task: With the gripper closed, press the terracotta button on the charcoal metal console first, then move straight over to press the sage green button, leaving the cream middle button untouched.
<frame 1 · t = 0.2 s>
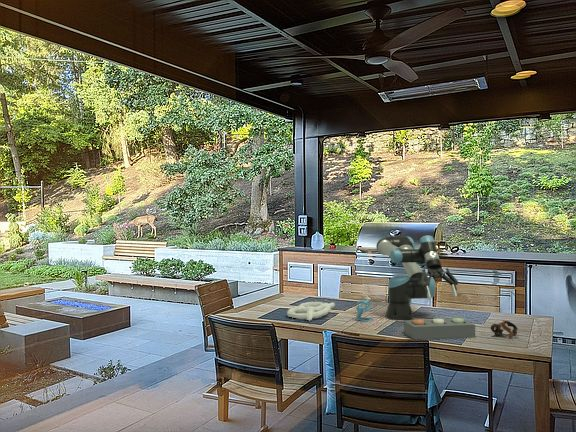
hand: (442, 297, 240), 16 cm above the table, fingers open, 13 cm apart
button console: (438, 334, 227), on the table
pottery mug: (503, 336, 223), on the table
teal overhanging stand: (363, 320, 262), on the table
cream button: (438, 322, 227), point 6 cm above the table, slide at 0.0 cm
pretzel: (310, 316, 275), on the table
sage button: (458, 321, 228), point 6 cm above the table, slide at 0.0 cm
terracotta button: (418, 323, 226), point 6 cm above the table, slide at 0.0 cm
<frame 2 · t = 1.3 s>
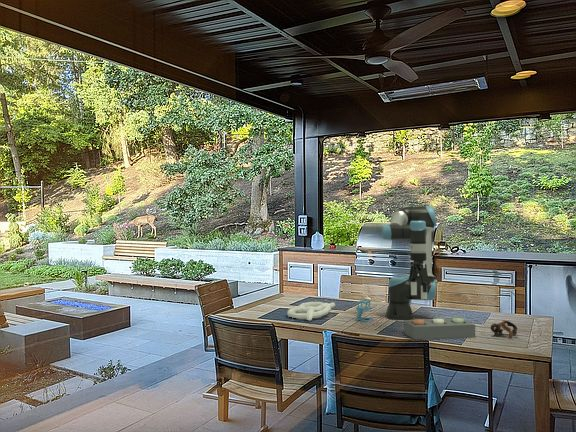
hand: (418, 297, 226), 19 cm above the table, fingers open, 12 cm apart
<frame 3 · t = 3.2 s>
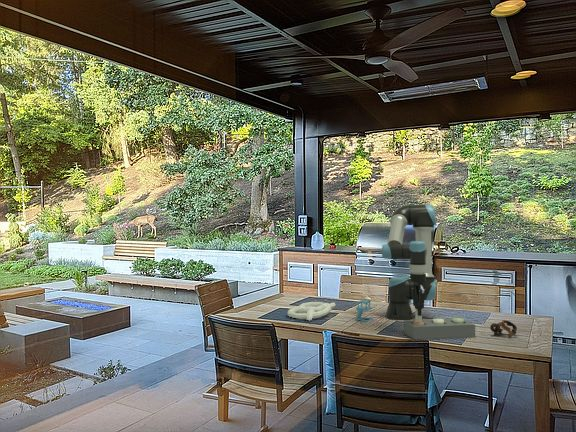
hand: (418, 321, 225), 7 cm above the table, fingers closed
terracotta button: (418, 325, 226), point 5 cm above the table, slide at 1.1 cm
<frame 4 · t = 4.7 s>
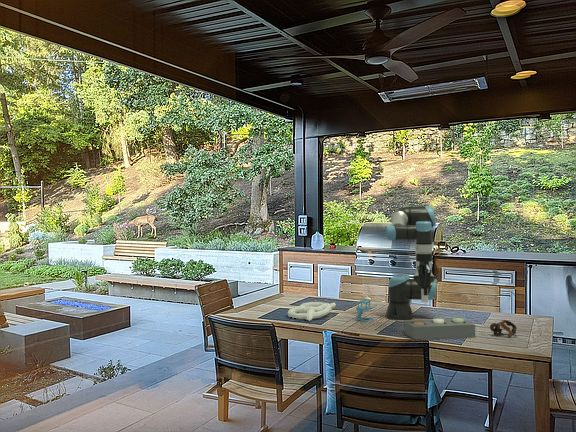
hand: (424, 301, 226), 16 cm above the table, fingers closed
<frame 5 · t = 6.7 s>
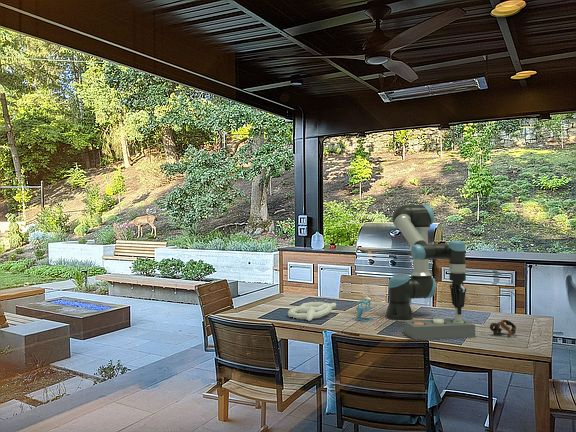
hand: (458, 320, 228), 7 cm above the table, fingers closed
sage button: (458, 324, 228), point 5 cm above the table, slide at 1.2 cm
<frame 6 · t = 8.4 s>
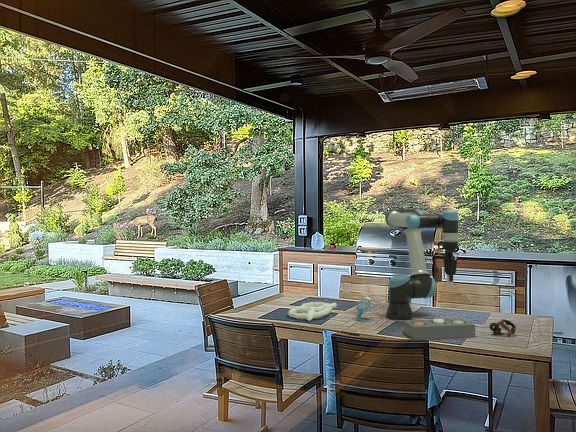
hand: (450, 287, 236), 22 cm above the table, fingers closed
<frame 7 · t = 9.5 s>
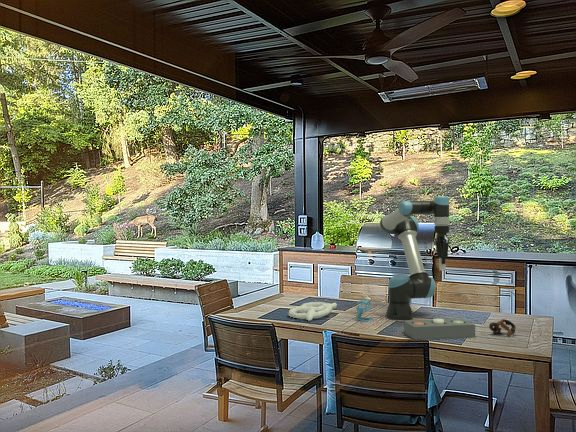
hand: (442, 270, 245), 29 cm above the table, fingers closed
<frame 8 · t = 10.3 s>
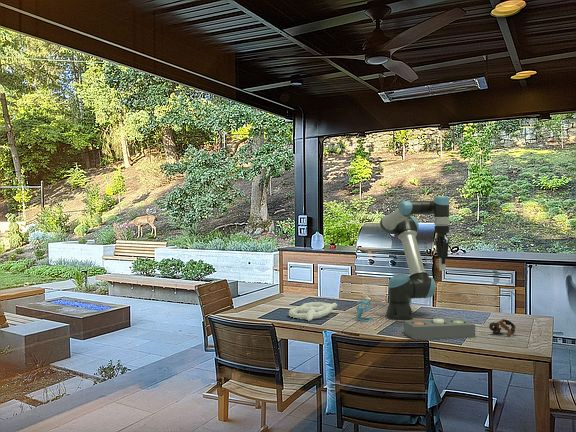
hand: (442, 270, 245), 29 cm above the table, fingers closed
at the end: terracotta button slide at 1.3 cm; sage button slide at 1.3 cm; cream button slide at 0.0 cm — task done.
